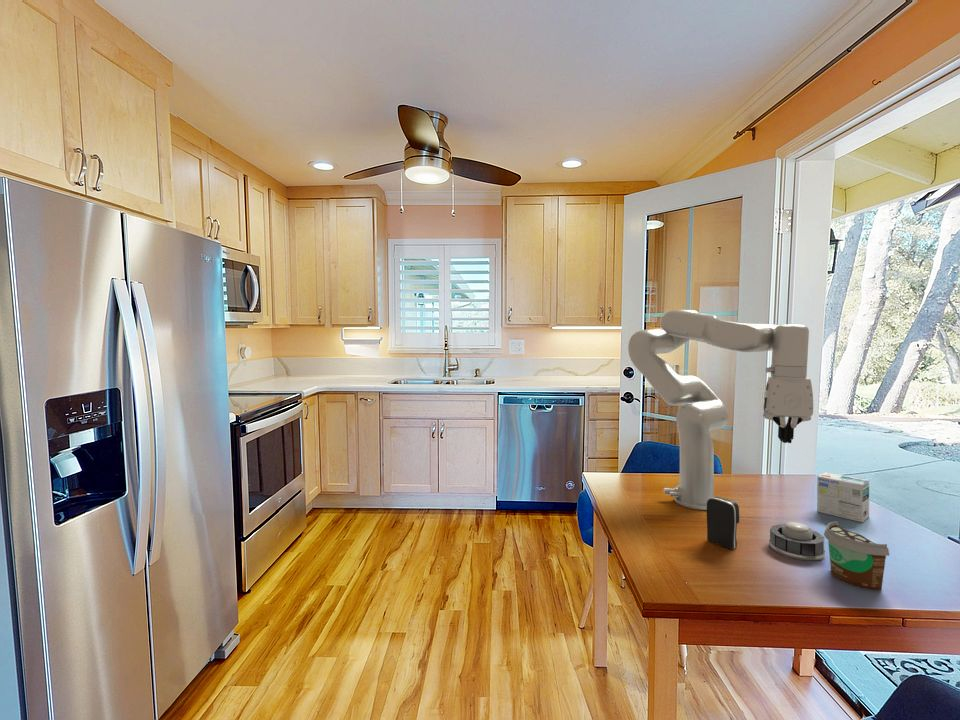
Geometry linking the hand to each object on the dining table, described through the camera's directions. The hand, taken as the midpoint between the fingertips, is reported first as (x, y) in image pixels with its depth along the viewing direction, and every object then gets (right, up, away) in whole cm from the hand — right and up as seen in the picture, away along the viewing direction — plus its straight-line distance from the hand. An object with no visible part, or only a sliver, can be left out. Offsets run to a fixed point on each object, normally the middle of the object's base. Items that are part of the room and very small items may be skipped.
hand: (785, 441), depth 117 cm
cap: (-3, -24, -9) cm, 26 cm away
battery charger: (-19, -25, -5) cm, 32 cm away
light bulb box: (+24, -23, +11) cm, 35 cm away
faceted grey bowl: (-3, -25, -9) cm, 26 cm away
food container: (-2, -25, -22) cm, 34 cm away
